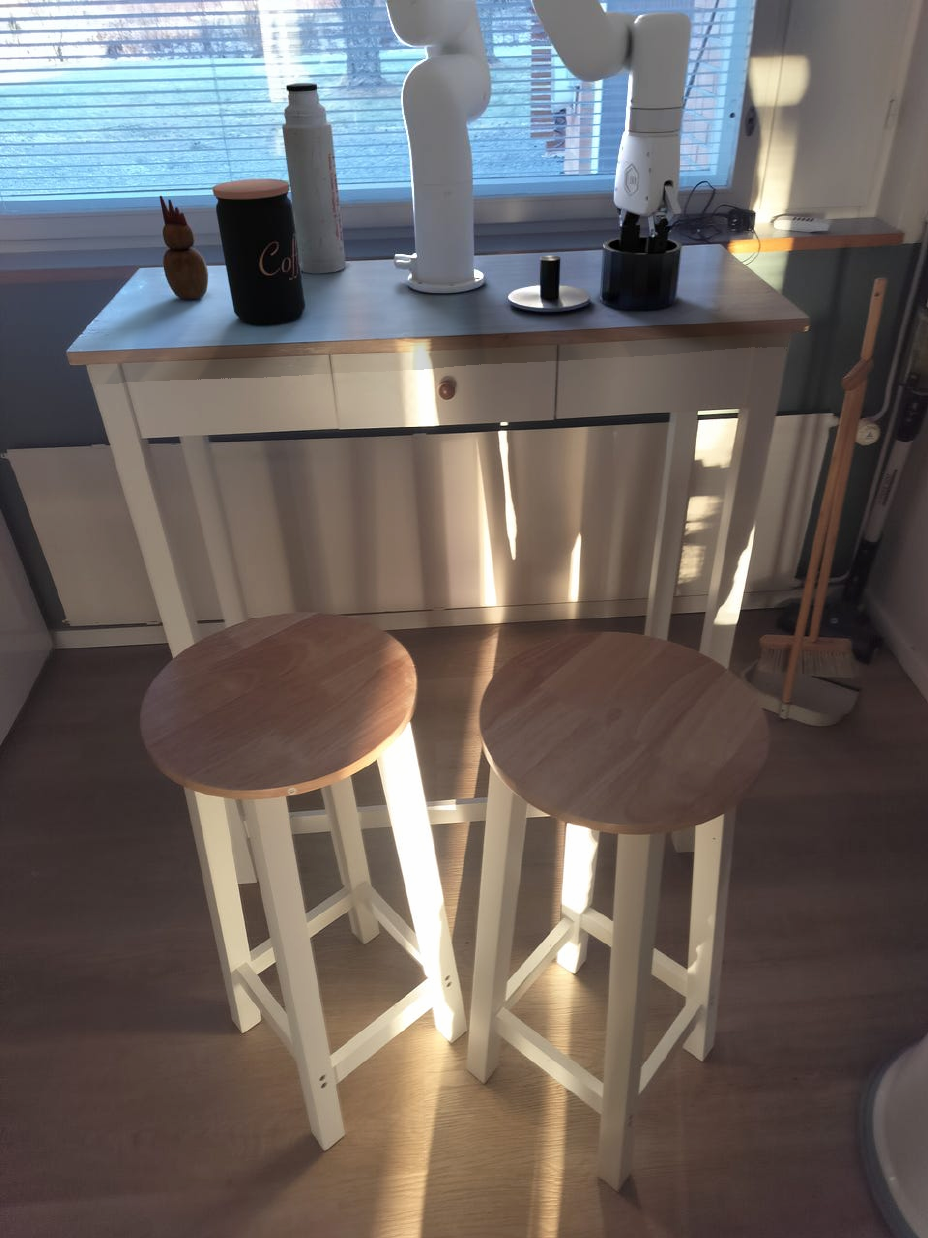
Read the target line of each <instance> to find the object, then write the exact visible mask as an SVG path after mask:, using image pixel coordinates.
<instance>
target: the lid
mask: <svg viewBox="0 0 928 1238" xmlns="http://www.w3.org/2000/svg"><path fill="white" fill-rule="evenodd" d="M561 258H562V257H560V256H558V255H543V256H541V257H540V259H539V263H540V264H539V285H530V286H525V287H521V288H518V289H515V290H513V291H511V292H510V293H509V295H508V302H509V304H510V305H511V306H513V307H515V308H518V309H521V310H525V311H529V312H535V313H536V312H537V313H562V312H567V311H572V310H573V311H574V310H577V309H580V308H583V307H585V306H587V305H588V304H589V303H590V302H591V295H590V293H589V292H588V291H586V290H584V289H582V288H578V287H576V286H570V285H561V283H560V282H561Z"/></svg>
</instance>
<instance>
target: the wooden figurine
mask: <svg viewBox="0 0 928 1238" xmlns="http://www.w3.org/2000/svg"><path fill="white" fill-rule="evenodd" d="M167 200H168V206H167V204H166V203H165V200H164V197H163V196H162V195H159V202H160V207H161V213H162V217H163V222H164V226H163V228H162V238H163V241H164V244H165V246H166V247H167V248H168V249H167V250H166V251H165V252H164V255H163V257H162V258H163V259H162V265H163V266H162V267H163V272H164V275H165V278H166V281H167V284H168V286H169V287H170V289H171V291H172V292H173V294H174V295H175V297H177V298H179V299H180V300H184V301H194V300H197V299H200V298H203V297H204V296H205V294H206V293H207V289H208V284H209V270H208V266H207V264H206V260H205V258H204V257H203V255H202V254H201V252H200V251H198V250H197V249H196V248H194V247H193V246H194V245H195V243H196V238H195V232H194V230H193V228H192V226H191V225H190V224H189V222H188V221H187V219H186V216H185V214H184V212H180V211H179V207H178V206H176V207H174V205H173V202H172V200H171V198H169V199H167Z"/></svg>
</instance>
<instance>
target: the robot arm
mask: <svg viewBox="0 0 928 1238" xmlns="http://www.w3.org/2000/svg"><path fill="white" fill-rule="evenodd" d="M384 1H385V2H384V3H385V6H386V10H387V15H388V18H389V22H390V25H391V28H392V31H393V32H394V34H395V36H396V37H397V39H398V40H399V42H401V43H402V44H404V45H406V46H407V47H411V48H418V49H424V51H425V55H426V58H425V59H422V60H420V61H419V62H417V63H416V64H415V65H414V66H413V67H412V68H411V69H410V70H409V71H408V73H407V74H406V77H405V79H404V82H403V85H402V90H401V110H402V115H403V120H404V126H405V130H406V131H405V132H406V136H407V142H408V143H407V144H408V152H409V162H410V179H411V191H412V192H411V195H412V208H413V210H412V211H413V229H414V247H415V248H414V249H415V253H412V255H407V254H395V255H394V257H393V264H394V267H395V269H396V270H408V271H409V272H410V274H409V276H407V285H408V286H409V288H411V289H412V290H415V291H418V292H422V293H429V294H456V293H461V292H463V293H464V292H469V291H472V290H475V289H477V288H480V287H481V286H483V285H484V283H485V275H484V273H483V272H481V271H479V270H478V269H475V227H474V226H475V223H474V178H473V177H474V175H473V173H474V172H473V169H474V168H473V155H472V146H471V142H470V137H469V131H468V125H469V124H471V123H473V122H475V121H477V120H478V119H480V118H481V117H482V116H483V115H484V114H485V112H486V111H487V109H488V107H489V104H490V102H491V98H492V75H491V71H490V70H491V69H490V66H489V61H488V56H487V55H488V54H487V51H486V47H485V42H484V37H483V33H482V27H481V23H480V18H479V13H478V8H477V4H476V1H475V0H384ZM530 3H531V5H532V7H533V10H534V13H535V15H536V17H537V19H538V21H539V23H540V25H541V28H542V29H543V31H544V33H545V35H546V36H547V38H548V40H549V41H550V43H551V45H552V47H553V49H554V51H555V53H556V54H557V56H558V57H559V59H560V61H561V63H562V64H563V66H564V67H565V68H566V70H568V72H569V73H571V75H572V76H573V77H575V78H576V79H578V80H580V81H581V82H582V81H583V82H586V83H594V82H599V81H602V80H605V79H608V78H613V77H619V76H622V75H628V85H627V86H628V87H627V99H626V110H625V111H626V114H625V127H624V128H625V130H624V131H623V134H622V138H621V141H620V146H619V151H618V157H617V164H616V172H615V179H614V191H613V203H614V205H615V206H616V211H617V213H618V216H619V218H618V225H619V226H620V227H619V237H618V238H619V251H622V252H629V253H637V252H638V248H639V236H641V224H638V223H639V220H640V217H641V216H642V217H647V221H648V227H649V235H647V243H646V253H660V252H665V251H666V249H667V240H668V239H669V236H670V235H671V233H672V229H673V227H675V225H676V222H677V220H678V219H679V218H680V217H681V214H682V209H681V208H682V207H681V206H680V203H679V202H678V197H679V187H680V186H679V185H680V172H681V170H680V169H681V135H680V134H681V127H682V118H683V109H684V101H685V100H684V99H685V88H686V80H687V71H688V61H689V53H690V52H689V51H690V41H691V32H692V23H691V20H690V17H689V15H688V14H685V13H683V12H668V11H667V12H666V11H665V12H648V13H644V14H641V15H640V14H631V13H626V12H619V11H605V10H604V8H603V6H602V4H601V3H600V1H599V0H530ZM660 218H661V219H660ZM657 219H660V221H659V222H657V221H658V220H657Z"/></svg>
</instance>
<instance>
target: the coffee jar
mask: <svg viewBox="0 0 928 1238" xmlns="http://www.w3.org/2000/svg"><path fill="white" fill-rule="evenodd" d="M289 192H290V183H289V181H287V180H284V179H278V178H247V179H246V178H245V179H237V180H230V181H225V182H221V183H217V184H215V185H214V186H212V193H213V196H214V197H215V198H216V199H217V203H216V206H215V213H216V218H217V223H218V229H219V230H218V231H219V236H220V241H221V246H222V252H223V258H224V262H225V269H226V274H227V279H228V280H227V281H228V285H229V291H230V297H231V303H232V307H233V314H235V316H236V317H237V318H238V319H239V320H240V321H241V322H242V323H243V324H247V325H253V326H275V325H281V324H286V323H287V324H288V323H289V322H293V321H296V320H297V319H299V318H301V316H302V315H303V312H304V310H305V308H306V302H305V294H304V293H305V292H304V287H303V286H304V285H303V278H302V270H301V267H300V259H299V252H298V244H297V236H296V227H295V217H294V211H293V205H292V200H291V199H290V198H289V197H288V194H289Z"/></svg>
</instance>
